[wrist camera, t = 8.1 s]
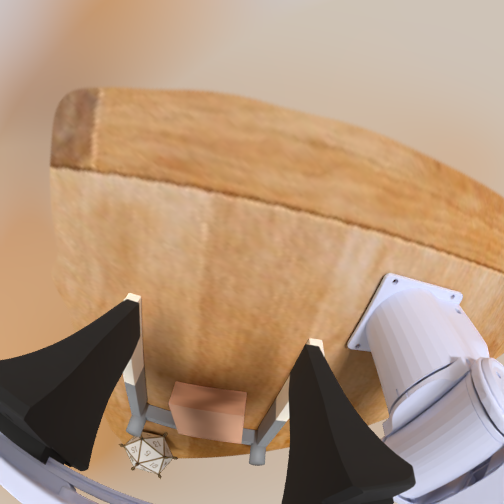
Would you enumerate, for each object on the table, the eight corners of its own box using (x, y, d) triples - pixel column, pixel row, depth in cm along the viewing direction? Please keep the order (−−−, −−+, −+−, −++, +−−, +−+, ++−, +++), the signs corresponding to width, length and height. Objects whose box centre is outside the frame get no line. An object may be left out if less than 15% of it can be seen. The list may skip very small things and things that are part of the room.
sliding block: (247, 389, 28) (244, 415, 24) (243, 421, 31) (241, 443, 28) (176, 379, 28) (168, 403, 25) (184, 412, 31) (178, 433, 28)
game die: (171, 419, 39) (195, 469, 33) (138, 434, 39) (159, 481, 33) (137, 415, 32) (163, 476, 26) (103, 431, 32) (124, 486, 26)
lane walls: (322, 340, 23) (325, 365, 20) (286, 399, 27) (286, 421, 25) (129, 292, 22) (114, 313, 20) (134, 362, 27) (124, 381, 24)
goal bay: (290, 399, 27) (290, 437, 23) (264, 436, 32) (262, 466, 28) (131, 361, 27) (114, 394, 22) (138, 405, 32) (127, 433, 27)
